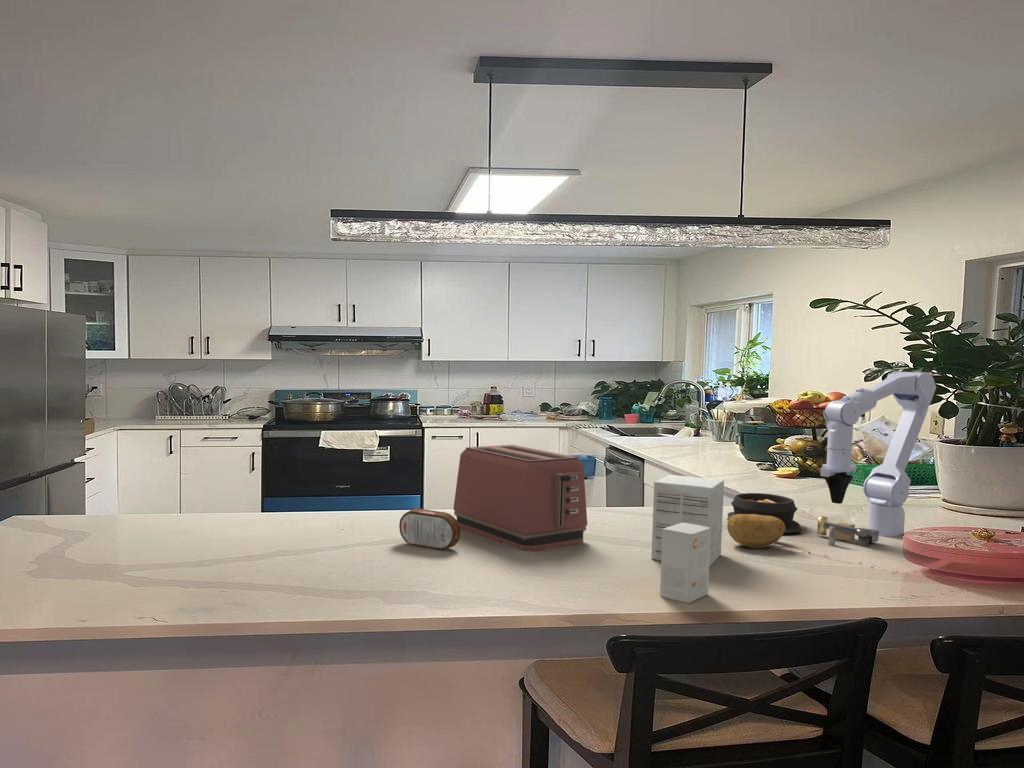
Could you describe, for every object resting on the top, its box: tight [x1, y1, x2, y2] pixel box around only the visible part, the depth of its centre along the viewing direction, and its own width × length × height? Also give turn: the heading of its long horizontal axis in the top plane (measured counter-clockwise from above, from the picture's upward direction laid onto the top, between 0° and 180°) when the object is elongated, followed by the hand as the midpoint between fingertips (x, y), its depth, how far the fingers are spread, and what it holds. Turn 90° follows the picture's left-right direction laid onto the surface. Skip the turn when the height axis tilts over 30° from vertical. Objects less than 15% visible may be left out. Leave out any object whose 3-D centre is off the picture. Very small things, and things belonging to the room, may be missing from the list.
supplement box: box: [650, 474, 725, 568], centre depth 178 cm, size 13×13×18 cm
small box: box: [659, 523, 711, 604], centre depth 150 cm, size 8×6×13 cm
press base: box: [828, 526, 870, 548], centre depth 194 cm, size 16×20×6 cm
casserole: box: [726, 492, 803, 534], centre depth 211 cm, size 25×19×8 cm
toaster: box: [452, 444, 588, 552], centre depth 196 cm, size 19×34×20 cm, turn 37°
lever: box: [816, 515, 879, 544], centre depth 196 cm, size 7×13×4 cm, turn 41°
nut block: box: [835, 522, 856, 542], centre depth 197 cm, size 4×4×4 cm
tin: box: [398, 507, 461, 551], centre depth 180 cm, size 15×3×8 cm, turn 65°
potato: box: [726, 514, 785, 549], centre depth 190 cm, size 10×14×8 cm
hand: (836, 502), depth 198 cm, fingers closed
